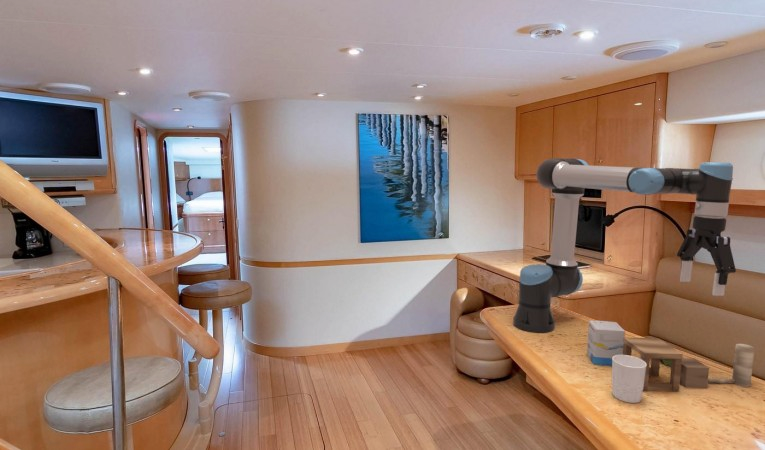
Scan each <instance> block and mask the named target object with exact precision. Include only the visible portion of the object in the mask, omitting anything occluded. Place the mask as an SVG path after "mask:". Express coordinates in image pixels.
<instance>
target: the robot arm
mask: <svg viewBox="0 0 765 450" xmlns="http://www.w3.org/2000/svg"><path fill="white" fill-rule="evenodd" d="M733 174H734V165H733V164H732V163H731V162H727V161H726V162H725V161H724V162H721V161H720V162H719V161H717V162H715V161H714V162H713V161H711V162H710V161H709V162H708V161H707V162H706V161H703V162H701V163H700V165H699V166H698V168H682V167H681V168H676V167H664V168H663V167H662V168H658V167H656V168H655V167H630V166H608V165H590V164H588V162H586V161H585V160H583V159H579V158H573V157H572V158H556V157H555V158H554V157H552V158H548V159H544V161H542V162H541V163H540V164H539V166H538V167H537V170H536V179H537V182H538V184H540V186H541V187H543V188H545V189H548V190H551V195H553V196H554V209H553V220H552V221H553V222H552V223H553V224H552V233H551V234H552V237H551V247H550V257H549V258H547V259H546V262H545V264H542V263H541V264H528V265H526V266H523V267H522V268H521V269H520V273H519V278H518V279H519V281H518V282H519V285H518V287H519V288H518V291H519V292H518V306H517V308H516V311H515V313H514V316H513V322H512V324H513V326H515V328H517V329H519V330H522V331H526V332H531V333H549V332H552V331H554V329H555V319H554V317H553V312H552V310H551V308H552V307H551V303H552V302H551V301H552V298H555V297H562V296H569V295H572V294H574V293H576V292H577V291H579V290H580V288H581V287H582V285H583V280H584V278H583V273H582V272H581V270H580V268H579V267H578V265H579V263H578V262H577V261H576V260H575V252H576V251H575V249H576V240H577V239H576V238H577V230H578V229H577V228H578V227H577V226H578V219H579V218H578V215H579V207H580V206H579V204H580V198H582V197H583V196H584V195H585V189H591V190H592V189H593V190H605V191H612V192H613V191H615V192H624V193H625V192H626V193H634V194H638V195H642V196H643V195H644V196H645V195H646V196H649V195H650V196H651V195H658V194H659V195H660V194H661V195H663V194H664V195H667V194H668V195H669V194H683V195H684V194H685V195H695V206H694V214H695V216H694V217H693V218H692V219H693V220H692V229H690V228H689V229H687V231H686V236H685V238H684V240H683V242H682V243H681V245H680V247H679V249H678V251H677V254H676V256H677V257H678V258H680V260H681V265H680V278H679V282H681V283H682V282H683V283H685V282H687V283H691V279H692V270H693V264H694V262H693V261H694V260H693V258H694V257H695V256H696V255H697V253H698V252H699V251H700V250H701V249H705V250H706V251H707V252H709V253H710V256H711V258H712V261H713V263H714V266H715V268H716V270H715V272H714V277H713V278H714V279H713V284H712V293H711V295H712V296H716V297H717V296H718V297H719V296H721V297H723V296H725V292H726V291H725V290H726V286H727V284H728V277H729V274H735V273H736V272H737V270H736V266H735V265H736V264H735V261H734V257H733V253H732V248H731V237H730V236H722V232H725V230H726V225H727V219H726V217H728V214H729V213H728V212H729V205H730V196H731V195H730V194H731V188H732V184H733V183H732V182H733V179H734V178H733Z"/></svg>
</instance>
